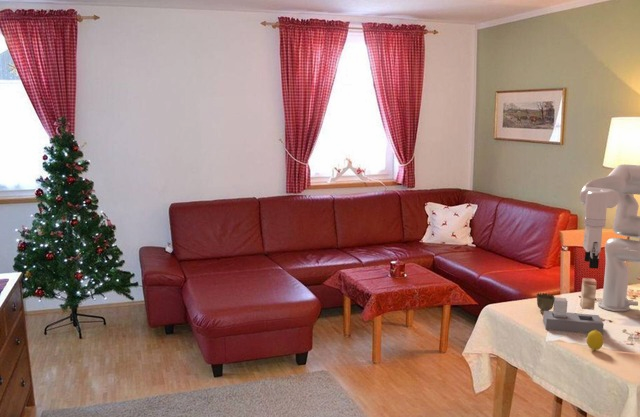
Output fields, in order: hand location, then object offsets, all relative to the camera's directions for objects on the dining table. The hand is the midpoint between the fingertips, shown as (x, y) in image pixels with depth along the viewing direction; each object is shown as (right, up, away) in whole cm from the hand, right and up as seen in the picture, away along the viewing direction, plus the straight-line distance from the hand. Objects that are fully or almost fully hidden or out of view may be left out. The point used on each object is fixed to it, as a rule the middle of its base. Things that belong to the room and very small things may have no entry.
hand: (591, 264), depth 231 cm
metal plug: (-10, -26, +7) cm, 28 cm away
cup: (-9, -24, +24) cm, 35 cm away
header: (-5, -27, +6) cm, 28 cm away
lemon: (-6, -30, -16) cm, 35 cm away
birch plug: (0, -17, +3) cm, 18 cm away
